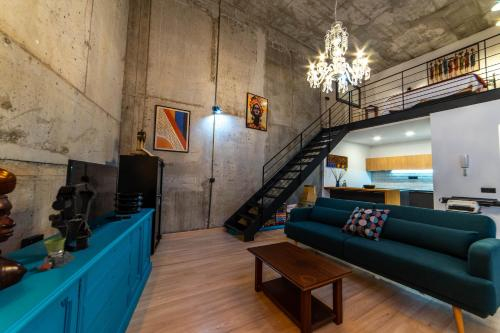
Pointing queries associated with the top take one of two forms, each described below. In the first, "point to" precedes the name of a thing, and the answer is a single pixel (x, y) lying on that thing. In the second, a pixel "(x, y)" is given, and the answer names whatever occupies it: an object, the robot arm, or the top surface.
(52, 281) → the top surface
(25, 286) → the top surface
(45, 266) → the valve body
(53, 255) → the coupling
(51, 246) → the plant pot
